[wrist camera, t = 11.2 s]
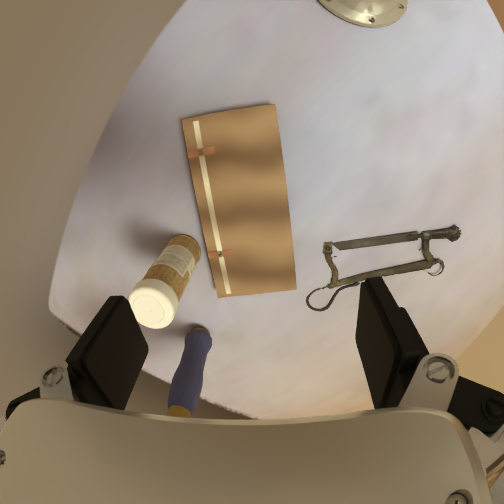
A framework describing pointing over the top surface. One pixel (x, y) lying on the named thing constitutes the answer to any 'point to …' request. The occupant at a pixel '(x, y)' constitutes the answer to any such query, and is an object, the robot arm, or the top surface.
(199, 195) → the board
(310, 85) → the top surface
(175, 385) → the rubber mallet
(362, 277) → the hacksaw
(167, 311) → the sprinkles bottle
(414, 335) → the robot arm
